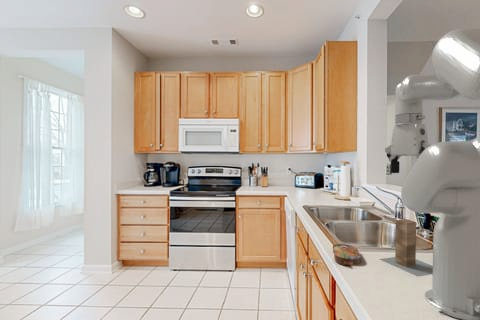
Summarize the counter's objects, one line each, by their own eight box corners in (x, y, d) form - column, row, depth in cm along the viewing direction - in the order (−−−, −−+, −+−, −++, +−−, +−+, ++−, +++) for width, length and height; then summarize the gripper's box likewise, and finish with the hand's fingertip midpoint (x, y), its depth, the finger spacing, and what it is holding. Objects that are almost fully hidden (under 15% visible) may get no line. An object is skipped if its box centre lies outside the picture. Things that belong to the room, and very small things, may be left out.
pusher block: (415, 265, 88) (416, 222, 88) (406, 267, 87) (407, 223, 86) (404, 261, 92) (404, 219, 92) (395, 262, 90) (395, 220, 90)
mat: (446, 273, 84) (446, 271, 84) (417, 278, 80) (417, 276, 80) (405, 257, 97) (406, 255, 97) (379, 261, 93) (379, 259, 93)
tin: (363, 260, 88) (335, 255, 90) (362, 269, 88) (334, 265, 90) (355, 245, 102) (331, 241, 104) (355, 253, 102) (331, 250, 104)
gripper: (444, 118, 82) (443, 175, 82) (394, 124, 98) (394, 172, 98) (425, 116, 79) (424, 175, 79) (378, 123, 96) (377, 172, 96)
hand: (407, 173), depth 89 cm, fingers open, 9 cm apart
